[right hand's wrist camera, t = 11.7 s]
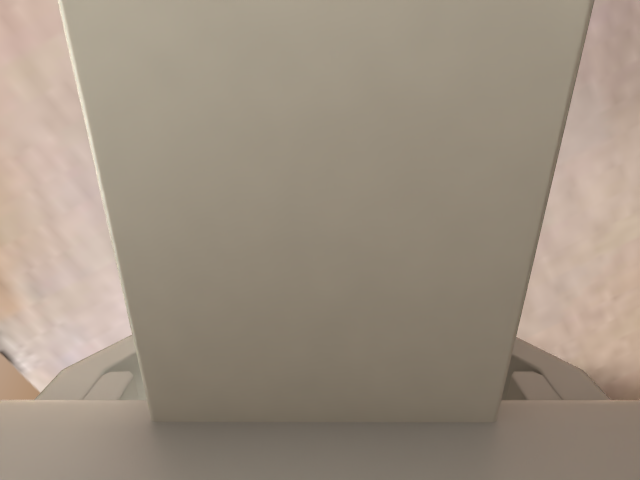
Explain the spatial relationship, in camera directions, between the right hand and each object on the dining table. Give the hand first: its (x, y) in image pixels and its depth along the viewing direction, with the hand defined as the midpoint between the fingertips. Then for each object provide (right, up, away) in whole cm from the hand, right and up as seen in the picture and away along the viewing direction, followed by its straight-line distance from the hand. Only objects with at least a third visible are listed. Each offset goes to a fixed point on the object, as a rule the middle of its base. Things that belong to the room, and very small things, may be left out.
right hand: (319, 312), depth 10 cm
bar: (0, +8, 0) cm, 8 cm away
